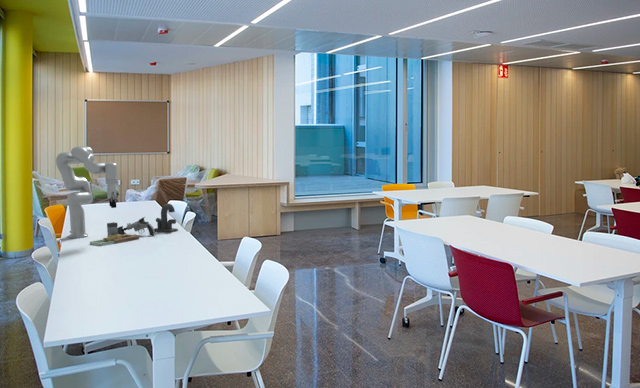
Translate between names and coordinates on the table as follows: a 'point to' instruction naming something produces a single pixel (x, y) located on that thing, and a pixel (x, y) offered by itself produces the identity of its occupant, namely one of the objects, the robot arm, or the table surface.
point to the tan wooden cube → (111, 238)
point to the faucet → (165, 220)
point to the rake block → (112, 228)
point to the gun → (138, 227)
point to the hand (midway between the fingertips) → (112, 206)
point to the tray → (101, 243)
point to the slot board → (124, 238)
